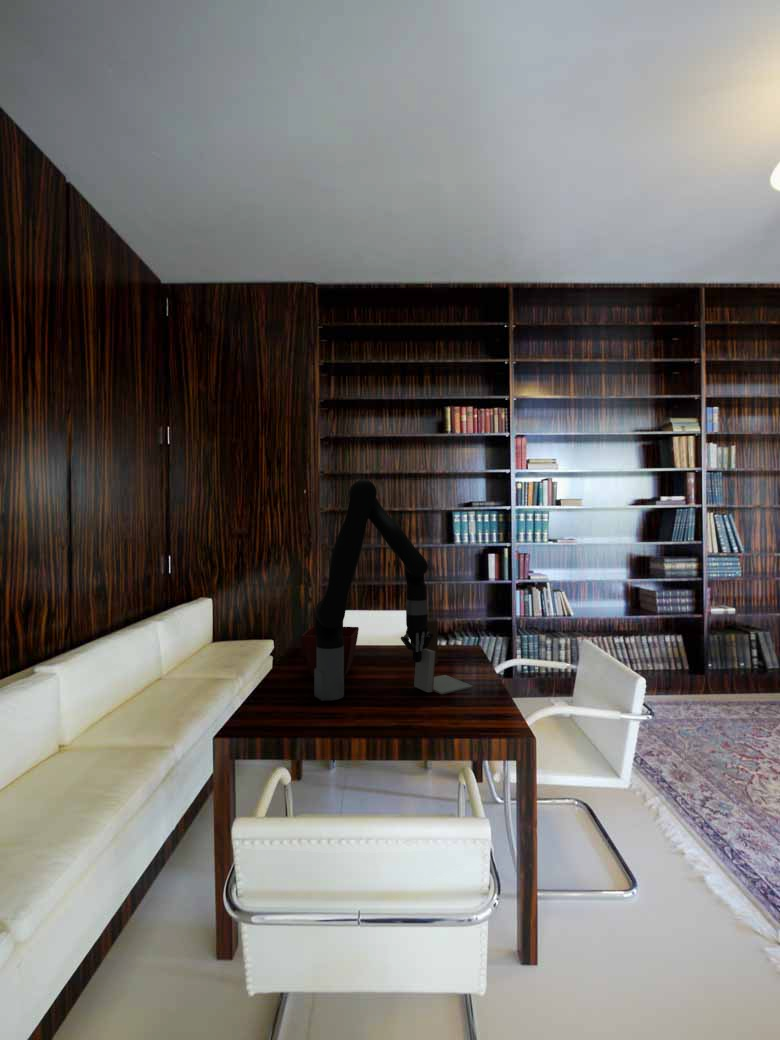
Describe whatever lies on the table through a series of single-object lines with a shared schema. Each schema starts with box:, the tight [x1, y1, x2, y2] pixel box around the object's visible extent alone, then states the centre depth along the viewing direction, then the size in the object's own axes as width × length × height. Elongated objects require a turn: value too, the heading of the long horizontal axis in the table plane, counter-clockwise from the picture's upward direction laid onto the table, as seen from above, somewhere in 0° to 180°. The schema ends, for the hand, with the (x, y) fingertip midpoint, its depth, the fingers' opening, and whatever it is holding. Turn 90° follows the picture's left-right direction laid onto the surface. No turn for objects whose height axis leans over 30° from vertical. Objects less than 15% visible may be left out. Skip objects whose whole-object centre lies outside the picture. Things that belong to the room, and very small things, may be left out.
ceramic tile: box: [413, 648, 436, 693], centre depth 189 cm, size 2×8×14 cm, turn 32°
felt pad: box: [433, 674, 474, 696], centre depth 193 cm, size 14×16×1 cm
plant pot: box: [301, 625, 360, 679], centre depth 208 cm, size 19×19×17 cm
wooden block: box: [427, 618, 439, 665], centre depth 223 cm, size 9×4×18 cm, turn 92°
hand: (417, 661), depth 187 cm, fingers closed
